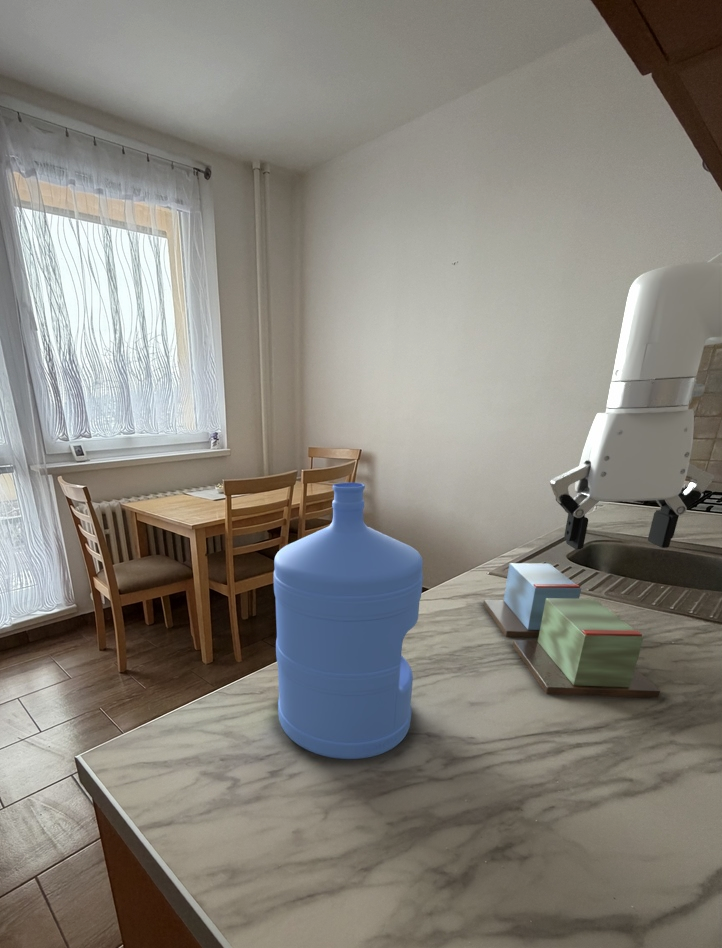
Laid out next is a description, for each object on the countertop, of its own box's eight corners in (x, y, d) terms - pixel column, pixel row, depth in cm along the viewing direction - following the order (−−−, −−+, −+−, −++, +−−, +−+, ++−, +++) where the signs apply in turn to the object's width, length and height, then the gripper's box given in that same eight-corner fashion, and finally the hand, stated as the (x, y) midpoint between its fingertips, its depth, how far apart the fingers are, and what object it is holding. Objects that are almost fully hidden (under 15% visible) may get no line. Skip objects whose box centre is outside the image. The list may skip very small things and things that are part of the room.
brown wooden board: (604, 651, 71) (606, 642, 71) (657, 701, 59) (660, 691, 59) (511, 648, 73) (513, 639, 72) (545, 697, 61) (547, 687, 61)
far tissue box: (503, 600, 86) (509, 561, 83) (542, 601, 85) (549, 562, 83) (527, 629, 75) (535, 586, 72) (572, 630, 74) (581, 586, 72)
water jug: (313, 781, 49) (312, 507, 38) (260, 700, 63) (248, 481, 52) (438, 740, 54) (468, 488, 44) (364, 674, 68) (373, 470, 57)
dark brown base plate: (558, 608, 86) (560, 600, 85) (594, 641, 74) (596, 632, 74) (482, 607, 88) (483, 599, 87) (505, 639, 76) (506, 631, 75)
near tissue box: (537, 641, 72) (546, 596, 69) (584, 642, 71) (595, 597, 68) (573, 685, 61) (585, 633, 58) (629, 687, 60) (644, 635, 57)
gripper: (709, 393, 56) (671, 536, 63) (551, 402, 58) (530, 539, 65) (762, 392, 49) (713, 553, 56) (580, 402, 52) (554, 556, 58)
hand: (615, 545), depth 60 cm, fingers open, 9 cm apart
